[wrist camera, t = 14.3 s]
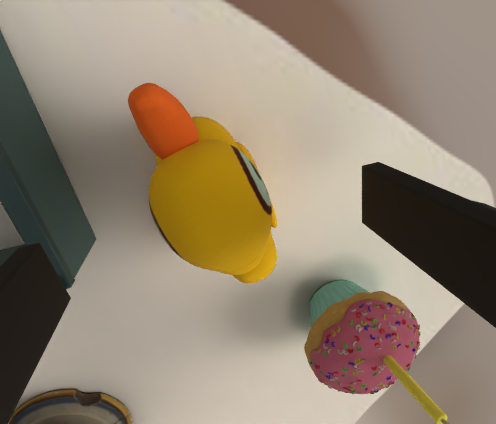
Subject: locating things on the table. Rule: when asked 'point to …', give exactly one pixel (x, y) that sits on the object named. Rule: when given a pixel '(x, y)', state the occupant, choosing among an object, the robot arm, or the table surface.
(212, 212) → the duckling
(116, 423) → the apothecary jar
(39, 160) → the rectangular frame
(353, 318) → the cupcake
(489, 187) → the table surface
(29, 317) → the robot arm
